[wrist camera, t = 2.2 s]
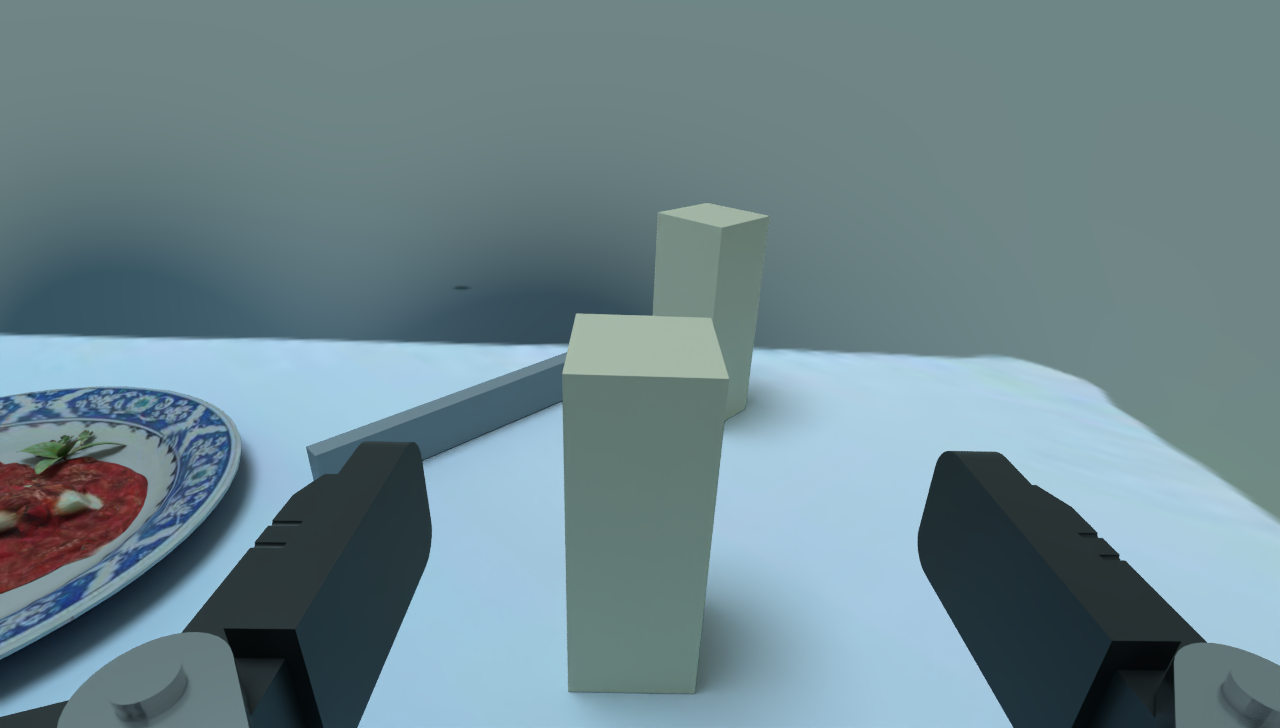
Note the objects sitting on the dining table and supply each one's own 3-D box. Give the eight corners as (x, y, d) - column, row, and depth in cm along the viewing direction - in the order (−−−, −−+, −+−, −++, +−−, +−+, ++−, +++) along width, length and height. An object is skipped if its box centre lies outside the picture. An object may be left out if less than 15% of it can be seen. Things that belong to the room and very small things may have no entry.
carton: (694, 694, 25) (729, 379, 19) (568, 691, 25) (562, 374, 19) (685, 593, 30) (710, 315, 24) (579, 591, 30) (577, 311, 23)
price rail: (325, 501, 35) (315, 455, 33) (314, 490, 36) (304, 445, 34) (630, 371, 51) (631, 337, 49) (617, 365, 51) (618, 332, 50)
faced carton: (745, 408, 46) (769, 216, 40) (702, 433, 43) (721, 227, 36) (690, 384, 49) (704, 202, 43) (646, 405, 46) (655, 211, 40)
